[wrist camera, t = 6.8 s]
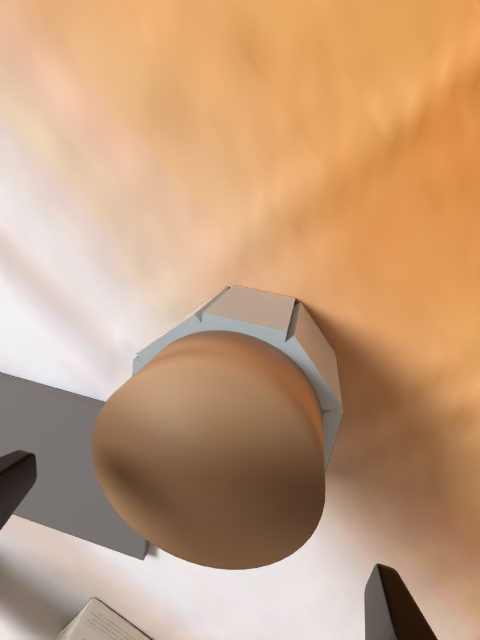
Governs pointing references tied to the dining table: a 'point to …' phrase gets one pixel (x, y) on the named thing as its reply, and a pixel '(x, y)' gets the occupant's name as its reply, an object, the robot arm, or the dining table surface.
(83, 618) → the supplement box
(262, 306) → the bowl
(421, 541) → the dining table surface
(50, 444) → the mat
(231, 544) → the tan rounded dome
